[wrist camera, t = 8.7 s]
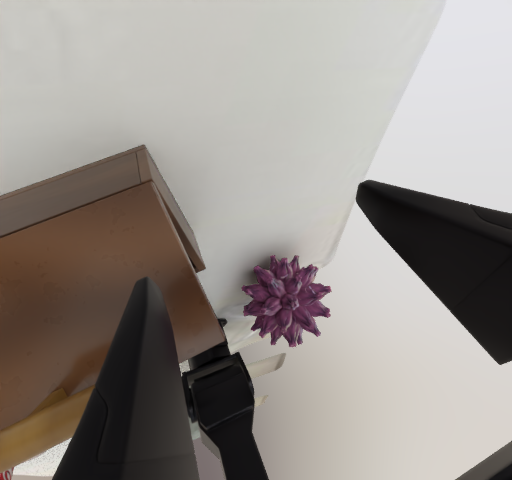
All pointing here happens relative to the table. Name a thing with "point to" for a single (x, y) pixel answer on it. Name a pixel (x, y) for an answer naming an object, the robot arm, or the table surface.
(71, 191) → the box
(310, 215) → the table surface
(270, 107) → the table surface
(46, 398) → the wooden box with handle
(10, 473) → the soda can
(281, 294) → the purple spiky ball
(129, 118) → the table surface
